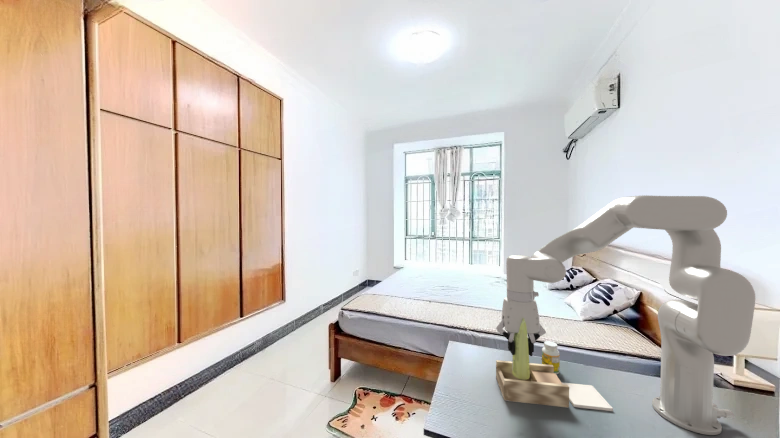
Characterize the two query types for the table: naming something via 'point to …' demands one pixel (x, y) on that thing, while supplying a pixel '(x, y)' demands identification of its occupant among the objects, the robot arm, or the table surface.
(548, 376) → the offcut top
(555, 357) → the supplement bottle
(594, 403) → the tile
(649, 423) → the table surface
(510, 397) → the tray
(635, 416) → the table surface
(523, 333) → the tube
